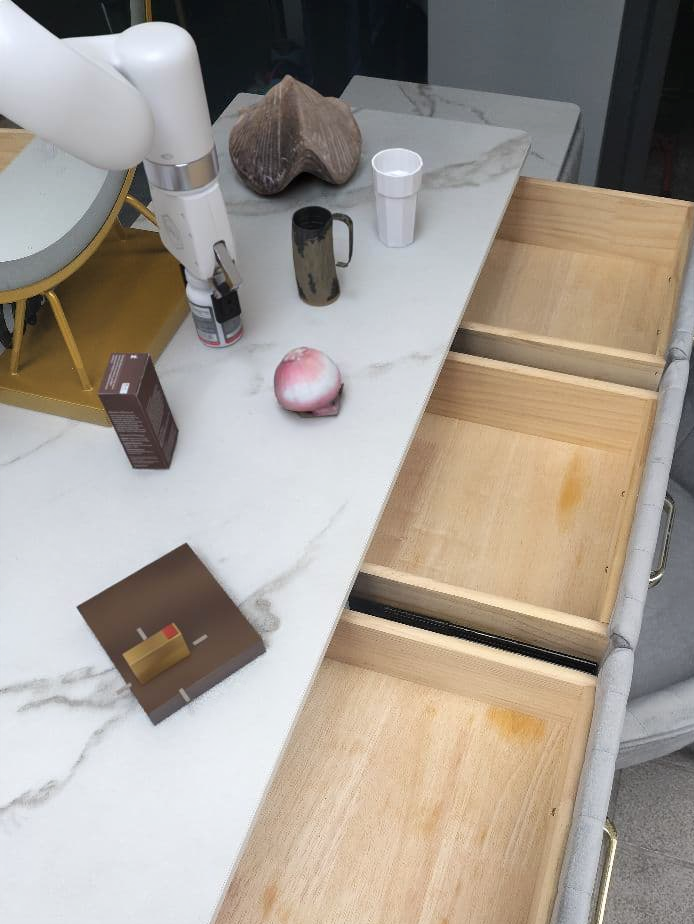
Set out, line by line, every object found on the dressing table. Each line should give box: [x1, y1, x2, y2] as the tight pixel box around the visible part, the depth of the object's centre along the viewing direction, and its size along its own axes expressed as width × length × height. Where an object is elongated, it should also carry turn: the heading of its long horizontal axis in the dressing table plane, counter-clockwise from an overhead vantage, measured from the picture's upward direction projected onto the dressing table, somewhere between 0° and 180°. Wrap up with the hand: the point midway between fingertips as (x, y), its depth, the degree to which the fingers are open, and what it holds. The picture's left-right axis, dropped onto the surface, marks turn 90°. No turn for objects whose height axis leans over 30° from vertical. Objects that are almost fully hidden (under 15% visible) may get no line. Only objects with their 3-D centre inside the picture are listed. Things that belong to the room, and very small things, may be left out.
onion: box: [273, 346, 345, 418], centre depth 93 cm, size 8×8×7 cm
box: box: [97, 352, 179, 470], centre depth 87 cm, size 6×4×12 cm
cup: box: [371, 147, 424, 249], centre depth 110 cm, size 7×7×11 cm
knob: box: [123, 623, 191, 685], centre depth 72 cm, size 5×1×4 cm, turn 128°
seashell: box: [228, 74, 363, 195], centre depth 119 cm, size 16×17×15 cm
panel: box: [75, 542, 267, 727], centre depth 77 cm, size 15×13×3 cm
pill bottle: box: [185, 261, 244, 348], centre depth 99 cm, size 6×6×10 cm
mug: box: [291, 205, 354, 307], centre depth 102 cm, size 8×6×12 cm
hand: (213, 301), depth 99 cm, fingers open, 6 cm apart
